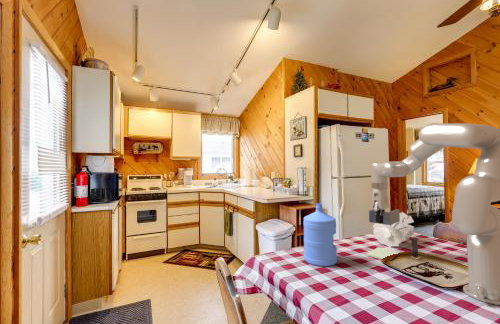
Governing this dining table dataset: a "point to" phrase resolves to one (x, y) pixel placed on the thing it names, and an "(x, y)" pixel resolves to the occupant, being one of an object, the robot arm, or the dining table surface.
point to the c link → (385, 217)
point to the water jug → (319, 238)
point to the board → (381, 253)
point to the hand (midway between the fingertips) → (380, 222)
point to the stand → (414, 247)
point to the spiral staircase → (394, 231)
